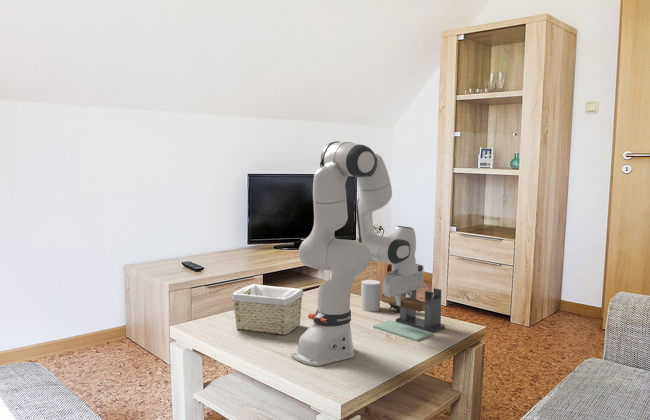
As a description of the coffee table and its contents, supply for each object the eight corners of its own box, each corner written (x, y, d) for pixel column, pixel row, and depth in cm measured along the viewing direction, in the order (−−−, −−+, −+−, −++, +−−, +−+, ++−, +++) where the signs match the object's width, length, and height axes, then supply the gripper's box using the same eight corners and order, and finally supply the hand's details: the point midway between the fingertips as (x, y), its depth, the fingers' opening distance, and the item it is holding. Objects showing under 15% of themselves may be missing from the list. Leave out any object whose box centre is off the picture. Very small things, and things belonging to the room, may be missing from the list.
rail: (419, 312, 196) (419, 303, 195) (382, 301, 209) (382, 293, 208) (424, 310, 198) (425, 301, 197) (387, 300, 211) (387, 292, 210)
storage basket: (231, 329, 206) (230, 292, 204) (251, 317, 221) (251, 282, 219) (287, 337, 197) (286, 298, 196) (304, 324, 212) (304, 288, 211)
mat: (416, 341, 193) (416, 339, 193) (373, 327, 208) (373, 325, 208) (432, 335, 200) (433, 333, 200) (389, 322, 215) (389, 320, 215)
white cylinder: (382, 308, 235) (383, 281, 233) (374, 312, 228) (374, 285, 227) (366, 305, 239) (366, 279, 238) (357, 309, 232) (358, 282, 231)
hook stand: (432, 332, 203) (433, 293, 201) (395, 321, 216) (396, 285, 214) (444, 328, 208) (445, 290, 206) (407, 317, 221) (408, 281, 219)
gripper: (392, 273, 192) (391, 311, 194) (426, 265, 206) (425, 300, 208) (379, 271, 197) (378, 307, 198) (413, 263, 211) (412, 297, 212)
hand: (403, 303), depth 203 cm, fingers closed on rail, 3 cm apart
